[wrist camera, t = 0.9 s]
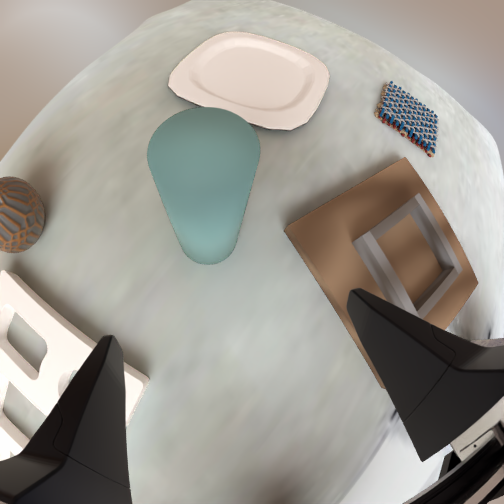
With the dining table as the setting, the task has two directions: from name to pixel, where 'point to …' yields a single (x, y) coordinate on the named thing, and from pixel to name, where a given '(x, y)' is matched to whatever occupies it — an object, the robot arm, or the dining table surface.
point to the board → (386, 249)
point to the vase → (19, 215)
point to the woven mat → (409, 118)
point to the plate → (253, 79)
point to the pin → (205, 178)
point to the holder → (45, 359)
